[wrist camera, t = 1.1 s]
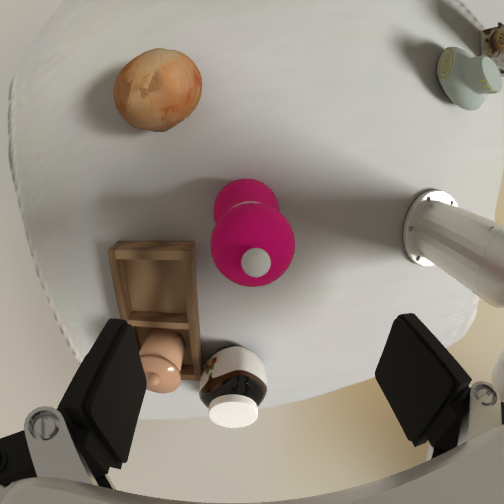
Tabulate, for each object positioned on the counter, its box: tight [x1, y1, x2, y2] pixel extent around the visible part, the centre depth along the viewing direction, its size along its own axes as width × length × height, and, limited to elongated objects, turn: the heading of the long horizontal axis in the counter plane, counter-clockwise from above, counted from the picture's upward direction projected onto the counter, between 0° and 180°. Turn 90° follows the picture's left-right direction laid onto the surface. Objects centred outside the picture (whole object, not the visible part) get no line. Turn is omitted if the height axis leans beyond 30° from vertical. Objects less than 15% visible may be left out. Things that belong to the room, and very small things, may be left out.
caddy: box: [108, 241, 203, 380], centre depth 38 cm, size 11×22×4 cm, turn 178°
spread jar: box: [199, 345, 267, 428], centre depth 39 cm, size 12×11×12 cm
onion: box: [114, 48, 202, 132], centre depth 24 cm, size 10×10×10 cm
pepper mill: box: [211, 179, 295, 287], centre depth 25 cm, size 7×7×20 cm
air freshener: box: [437, 47, 502, 110], centre depth 24 cm, size 11×8×10 cm
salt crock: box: [139, 328, 185, 393], centre depth 36 cm, size 7×7×9 cm
